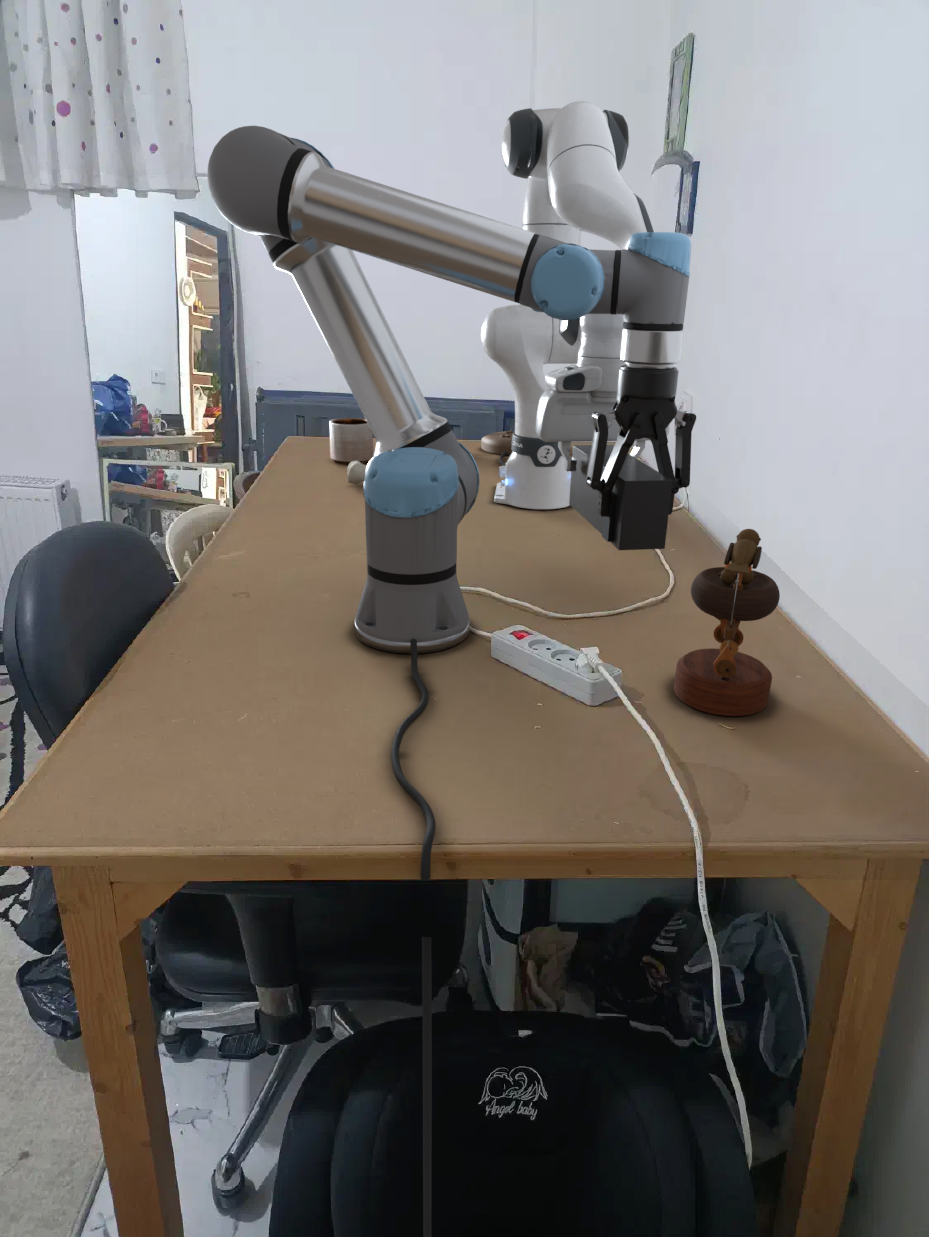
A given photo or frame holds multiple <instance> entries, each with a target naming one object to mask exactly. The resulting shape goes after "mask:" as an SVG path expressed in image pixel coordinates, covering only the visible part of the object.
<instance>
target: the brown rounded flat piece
mask: <svg viewBox="0 0 929 1237" xmlns="http://www.w3.org/2000/svg"><path fill="white" fill-rule="evenodd" d="M514 432H515V431H513V430H511V429H510V430H503V431H498V432H492V433H488V434H485V435H484V436H483V437H482V438H481V440H480V441H481V442H480V449H482V450H483V451H485V452H487V453H490V454H496V455H502V454H503V453H505V452H508V454H507V455H506V456H510V455H511V453H512V449H511V447H512V443H511V442H512V437H513V433H514Z"/></svg>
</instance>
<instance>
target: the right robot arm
mask: <svg viewBox="0 0 929 1237" xmlns="http://www.w3.org/2000/svg"><path fill="white" fill-rule="evenodd" d="M500 145H501V146H500V148H501V155H502V158H503V161H504V167H505V169H506V170H507V171H508V173H509V174H510V175H512V176H514V177H516V178H520V179H524V180H525V179H527V184H526V188H525V194H524V195H525V196H524V200H523V210H522V224H521V225H522V228H521V229H524V230H528V231H531V232H534V233H535V234H538V235H542V236H546V237H549V238H553V239H556V240H559V241H562V242H565V243H568V244H569V243H572V244H576V245H579V246H581V242H582V240H581V237H582V232H584V233H588V234H590V235H594V236H596V237H599V238H602V239H605V240H607V241H609V242H611V243H613V244H614V245H616V246H617V247H619V248H620V250H622V249H628V245H629V243H630V238H631V236H632V235H633V234H634V233H639V232H655V231H654V228H653V225H652V221H651V218H650V215H649V213H648V210H647V208H646V205H645V203H644V201H643V199H642V198H641V197H639V195H637V194H636V193H634V192H633V191H632V190H631V189H630V188H629V187H628V185H627V184H626V182H625V181H624V179H623V178H622V176H621V174H620V172H621V170H623V167H624V165H625V162H626V159H627V156H628V154H629V148H630V134H629V126H628V123H627V120H626V119H625V117H624V115H623V114H620V113H618V112H616V111H613V110H608V109H603V110H602V109H601V108H600V107H598V106H597V105H596V104H594V103H593V102H589V101H585V100H577V101H573V102H570V103H568V104H566V105H564V106H563V107H556V108H555V107H554V108H553V107H552V108H540V109H532V108H531V107H530V108H524V109H518V110H516V111H514V112H513V113H512V114H511V115H510V116H509V117H508V118H507V120H506V123H505V126H504V128H503V131H502V135H501V142H500ZM623 322H624V320H623V314H617V313H616V315H613V314H586V315H585V316H583V317H580V318H578V319H576V320H571V321H564V320H560V319H556V318H552V317H550V316H548V315H547V314H546V313H544V312H536V311H534V310H532V308H530V307H527V306H524V305H521V304H511V305H504V306H501V307H496V308H492V309H491V310H490V311H489V312H488V313H487V314H486V316H485V317H484V320H483V322H482V324H481V329H480V341H481V345H482V348H483V350H484V352H485V354H486V355H487V356H488V358H490V359H491V361H493V362H494V363H496V364H497V365H498V367H500V369H502V371H503V373H504V374H505V375H506V376H507V378H508V381H509V383H510V385H511V389H512V392H513V399H514V400H513V401H514V431H513V432H514V433H513V437H512V442H511V443H512V447H511V449H512V453H511V455H509V457H508V459H507V461H506V462H504V461H503V458H504V457H505V456H508V455H507V454H508V452H505V453H503V454H499V455H500V456H499V457H498V462H499V464H500V465H501V466H499V467H498V477H499V478H504V479H501V480H500V482H497V484H496V488H495V492H494V493H495V494H494V496H493V497H494V498H493V503H496V504H502V505H508V506H512V507H516V508H522V509H530V510H556V509H562V508H567V507H569V506H570V507H571V505H570V504H569V498H570V483H571V471H576V464H577V460H576V459H575V458H572V456H571V455H570V453H571V446H572V442H592V440H593V434H594V426H593V420H592V414H593V413H594V412H596V411H598V412H600V413H601V412H605V411H608V410H612V408H613V406H614V405H615V403H616V400H617V388H618V376H619V368H621V366H622V365H624V363H625V362H623V361H621V360H620V355H621V343H622V331H623ZM548 364H549V365H552V364H553V365H555V364H556V365H560V364H561V365H566V366H564V367H560V368H558V369H555V370H552V371H549V372H547V373H546V374H544V369H543V368H544V365H548ZM670 427H671V423H670V424H669V425H668V427H667V428H666V429H665V430H666V434H667V437H668V436H669V434H670V430H671V428H670ZM619 430H620V426H619V424H618V423H617V421H616V419H615V418H614V419H613V420H612V425H611V427H610V428H608V440H607V442H616V437H617V435H618V432H619ZM646 441H651V440H650V439H648V438H642V439H635V441H634V444H633V445H632V447H633V449H632V450H631V452H630V453H629V455H631V456H632V457H634V458H636V459H637V460H639V457H640V456H641V454H642V453H643V451H644V450H645V449H646Z"/></svg>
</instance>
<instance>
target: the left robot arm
mask: <svg viewBox="0 0 929 1237" xmlns="http://www.w3.org/2000/svg"><path fill="white" fill-rule="evenodd" d="M207 186H208V191H209V193H210V197H211V199H212V201H213V203H214V205H215V207H216V209H217V210H218V211H219V213H220V215H222V216H223V218H224V219H225V220H226V221H227V222H228V223H230V224H231V225H233V226H234V227H235V228H236V229H238V230H241V231H242V232H244V233H247V234H252V235H255V236H258V238H259V239H260V242H261V244H262V245H263V247H264V249H265V252H266V253H267V255H268V257H269V259H270V261H271V263H272V265H273V266H274V268H275V269H276V270H279V271H282V272H285V273H288V274H289V275H291V276H292V278H293V280H294V282H295V284H296V286H297V288H298V290H299V291H300V293H301V296H302V297H303V300H304V302H305V304H306V305H307V308H308V309H309V311H310V313H311V316H312V317H313V320H314V322H315V323H316V326H317V327H318V329H319V331H320V333H321V335H322V336H323V339H324V341H325V343H326V344H327V346H328V348H329V350H330V353H331V355H332V356H333V358H334V361H335V362H336V365H337V366H338V368H339V370H340V372H341V374H342V376H343V378H344V380H345V382H346V384H347V386H348V388H349V390H350V391H351V394H352V396H353V397H354V400H355V401H356V403H357V405H358V407H359V409H360V411H361V414H362V415H363V418H364V419H366V421H367V423H368V425H369V427H370V429H371V431H372V433H373V438H374V439H375V446H374V449H373V450H374V454H373V458H372V459H371V460H370V461H368V463H367V464H366V470H365V481H363V485H362V486H363V490H362V493H363V497H364V515H365V516H364V517H365V518H364V520H365V545H366V547H365V548H366V579H365V584H364V586H363V589H362V592H361V596H360V600H359V602H358V606H357V609H356V612H355V618H354V633H355V636H356V638H357V639H358V640H359V641H360V642H362V643H363V644H365V645H367V646H368V647H371V648H374V649H377V650H380V651H384V652H390V653H396V654H397V653H398V654H410V669H411V670H410V671H411V676H412V679H413V681H414V683H415V685H416V687H417V688H418V689H419V691H420V695H421V700H420V702H419V704H418V706H417V707H416V708H415V709H414V710H413V711H412V712H411V713H410V714H409V715H408V716H407V717H406V718H405V719H404V720H403V721H401V723H400V725H399V727H397V730H396V731H395V734H394V737H393V741H392V744H391V751H390V762H391V768H392V772H393V774H394V777H395V779H396V781H397V782H398V784H399V785H400V786H401V788H402V789H403V790H404V792H406V793H407V795H408V796H409V797H411V799H412V800H413V801H414V802H415V803H416V804H417V805H418V806H419V808H420V809H421V811H422V813H423V816H424V819H425V825H426V828H425V833H424V837H423V840H422V848H421V855H420V857H421V858H420V880H422V881H424V882H426V881H429V880H430V879H431V858H432V857H431V855H432V848H433V843H434V838H435V834H436V820H435V819H436V818H435V815H434V812H433V810H432V808H431V806H430V805H429V803H428V802H427V800H426V799H425V797H424V796H423V795H422V794H421V793H420V792H419V791H418V790H417V789H416V788H415V786H413V785H412V784H411V782H409V781H408V779H406V776H405V775H404V772H403V770H402V766H401V762H400V761H401V760H400V747H401V744H402V739H403V737H404V735H405V733H406V731H407V729H408V728H409V727H410V726H411V724H413V723H414V722H415V721H416V720H417V719H418V718H419V717H420V716H421V715H422V714H423V713H424V711H425V710H426V708H427V706H428V704H429V695H430V694H429V691H428V688H427V687H426V685H425V684H424V681H423V680H422V679H421V675H420V673H419V669H418V667H419V666H418V664H419V663H418V654H425V653H433V652H439V651H443V650H446V649H449V648H452V647H455V646H457V645H458V644H460V643H462V642H463V641H464V640H466V639H467V637H468V636H469V634H470V616H469V612H468V608H467V606H466V601H465V599H464V596H463V593H462V589H461V586H460V583H459V581H458V577H457V561H458V560H457V559H458V558H457V557H458V556H457V554H458V552H457V551H458V526H459V525H460V523H461V522H462V520H463V519H464V517H465V516H466V515H467V514H468V513H469V512H470V511H471V509H472V508H473V506H474V505H475V502H476V499H477V497H478V495H479V487H480V471H479V466H478V463H477V460H476V458H474V455H473V454H472V452H471V451H470V450H469V449H468V448H466V446H465V445H463V444H462V443H461V442H459V441H458V439H457V437H456V435H455V433H454V430H453V429H452V427H451V425H450V423H449V421H448V419H447V418H446V417H444V416H440V415H437V414H435V413H434V412H432V411H431V408H430V406H429V404H428V402H427V400H426V398H425V396H424V394H423V391H422V390H421V388H420V385H419V384H418V382H417V380H416V378H415V376H414V374H413V372H412V369H411V367H410V365H409V364H408V362H407V359H406V357H405V355H404V353H403V350H402V349H401V347H400V345H399V343H398V340H397V339H396V337H395V334H394V332H393V331H392V328H391V327H390V325H389V323H388V320H387V318H386V316H385V314H384V312H383V310H382V308H381V306H380V304H379V302H378V299H377V297H376V295H375V294H374V292H373V289H372V288H371V285H370V284H369V282H368V279H367V277H366V275H365V273H364V271H363V269H362V267H361V265H360V263H359V261H358V258H357V257H356V254H355V253H354V252H357V253H360V254H363V255H366V256H370V257H372V258H375V259H378V260H382V261H384V262H388V263H391V264H394V265H398V266H401V267H403V268H407V269H410V270H412V271H416V272H419V273H422V274H426V275H429V276H432V277H435V278H438V279H441V280H444V281H447V282H451V283H454V284H457V285H460V286H464V287H466V288H470V289H472V290H476V291H479V292H482V293H485V294H488V295H491V296H495V297H497V298H501V299H504V300H507V301H510V302H513V303H517V304H518V305H524V306H527V307H530V308H532V310H534V311H536V312H544V313H546V314H547V315H548V316H550V317H552V318H556V319H560V320H564V321H571V320H576V319H578V318H580V317H583V316H585V315H586V314H613V315H616V313H617V314H623V320H624V322H623V331H622V343H621V355H620V360H621V361H623V362H625V363H624V365H622V366H621V368H619V376H618V388H617V400H616V403H615V405H614V406H613V408H612V410H608V411H605V412H601V413H600V412H598V411H596V412H594V413H593V414H592V420H593V426H594V434H593V440H592V441H591V445H592V446H591V452H590V458H589V464H588V471H587V477H586V484H587V485H588V486H590V487H591V488H592V489H594V490H598V492H599V497H598V509H597V511H598V514H599V515H600V516H601V517H603V528H602V534H601V537H602V538H603V539H604V540H605V541H606V542H607V543H611V542H613V537H614V526H615V514H616V503H617V494H615V493H614V492H613V491H612V490H613V488H614V485H615V483H616V480H617V478H618V476H619V473H620V471H621V468H622V466H623V464H624V461H625V459H626V456H627V454H629V451H630V449H631V448H632V447H633V444H634V441H635V439H642V438H648V439H650V440H649V441H650V442H651V444H652V445H651V446H652V448H653V449H652V450H653V453H654V458H655V462H656V466H657V471H658V472H659V473H661V474H663V475H664V476H666V477H668V478H669V479H671V480H672V488H671V497H670V506H669V515H668V516H671V515H672V513H673V512H674V511H673V510H674V502H675V495H677V494H678V493H679V491H680V490H681V489H683V488H685V489H687V488H689V486H690V485H691V484H690V483H691V465H692V464H691V462H692V432H693V429H694V427H695V424H696V421H697V415H696V414H695V413H694V412H690V411H688V410H680V409H678V407H677V404H676V396H677V390H678V389H677V388H678V381H679V370H678V367H676V366H675V365H677V364H678V363H680V361H681V356H682V355H681V354H682V344H683V335H684V334H683V333H684V324H685V315H686V309H687V308H686V307H687V301H688V300H687V299H688V291H689V284H690V275H691V273H690V270H691V257H692V255H691V254H692V240H691V238H690V237H689V235H687V234H685V233H683V232H671V231H654V232H639V233H634V234H633V235H632V236H631V238H630V243H629V245H628V249H614V250H613V249H612V250H611V249H589V248H587V247H584V246H582V245H580V246H579V245H576V244H572V243H569V244H568V243H565V242H562V241H559V240H556V239H553V238H549V237H546V236H542V235H538V234H535V233H534V232H531V231H528V230H524V229H522V228H521V227H518V226H515V225H512V224H510V223H509V224H508V223H505V222H502V221H499V220H496V219H493V218H489V217H487V216H483V215H480V214H477V213H474V212H471V211H468V210H465V209H462V208H458V207H456V206H453V205H449V204H446V203H442V202H439V201H437V200H434V199H430V198H427V197H423V196H421V195H417V194H414V193H411V192H409V191H405V190H402V189H400V188H396V187H393V186H390V185H387V184H383V183H381V182H376V181H373V180H371V179H367V178H364V177H361V176H358V175H356V174H352V173H349V172H345V171H342V170H339V169H337V168H335V167H334V165H333V164H332V162H331V161H330V160H329V159H328V158H327V157H326V156H325V155H324V154H323V153H322V152H321V151H320V150H319V149H317V148H316V147H315V146H314V145H312V144H310V143H308V142H307V141H304V140H302V139H299V138H295V137H290V136H287V135H284V134H282V133H280V132H278V131H276V130H273V129H271V128H268V127H265V126H259V125H244V126H240V127H237V128H234V129H232V130H230V131H228V132H227V133H226V134H225V135H222V137H221V138H220V139H219V140H218V142H217V143H216V144H215V145H214V147H213V149H212V151H211V154H210V157H209V159H208V164H207ZM614 418H615V419H616V421H617V423H618V424H619V426H620V430H619V432H618V435H617V437H616V441H615V443H614V448H613V450H612V453H611V455H610V458H609V460H608V463H607V465H606V467H605V470H604V472H603V475H602V469H603V463H604V457H605V452H606V446H607V445H608V441H607V440H608V428H610V427H611V425H612V420H613V419H614ZM673 420H674V425H675V426H676V428H675V442H674V443H675V445H674V446H675V448H674V453H675V454H674V468H673V464H672V463H673V462H672V460H671V459H672V458H671V454H670V449H669V445H668V444H669V440H668V439H669V438H668V436H667V434H666V430H665V429H666V428H667V427H668V425H669V424H670V425H671V423H672V421H673ZM601 475H602V477H601ZM421 968H422V969H421V987H422V988H421V990H422V993H421V994H422V995H421V996H422V998H421V999H422V1000H421V1002H422V1003H421V1004H422V1010H421V1011H422V1197H423V1198H422V1199H423V1200H422V1208H423V1209H422V1210H423V1212H422V1213H423V1214H422V1216H423V1220H422V1223H423V1225H422V1227H423V1228H422V1229H423V1231H422V1232H423V1234H422V1235H423V1237H432V1144H433V1143H432V1130H433V1129H432V1127H433V1126H432V1125H433V1124H432V1122H433V1121H432V1120H433V1118H432V1116H433V1115H432V1114H433V1113H432V1111H433V1105H432V1104H433V1102H432V1101H433V1098H432V1096H433V1094H432V1091H433V1088H432V1087H433V1085H432V1084H433V1082H432V1080H433V1078H432V1077H433V1075H432V1072H433V1071H432V1070H433V1069H432V1068H433V1061H432V1060H433V1054H432V1053H433V1052H432V1051H433V1050H432V1049H433V1045H432V1044H433V1042H432V1041H433V1038H432V1037H433V1036H432V1035H433V1034H432V1030H433V1029H432V1028H433V1026H432V1025H433V1024H432V1022H433V1019H432V1015H433V1014H432V1012H433V1011H432V1010H433V1009H432V1008H433V1006H432V1005H433V1004H432V1001H433V1000H432V999H433V998H432V996H433V995H432V994H433V992H432V937H430V936H421Z"/></svg>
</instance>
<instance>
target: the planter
mask: <svg viewBox="0 0 929 1237" xmlns="http://www.w3.org/2000/svg"><path fill="white" fill-rule="evenodd" d="M328 424H329V425H328V426H329V453H330V454H329V455H330V456H329V457H330V459H331V460H332V461H333V462H335V463H341V464H350V463H351V462H353V461H359V462H360V463H361V464H364V463H367V462H368V463H369V461H370V460H371V459H372V458H373V454H374V450H375V449H374V435H373V433H372V431H371V429H370V427H369V425H368V423H367V421H366V419H365V418H362V417H361V418H360V417H342V418H341V417H340V418H335V419H334V418H333V419H331V420H329V421H328Z"/></svg>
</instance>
